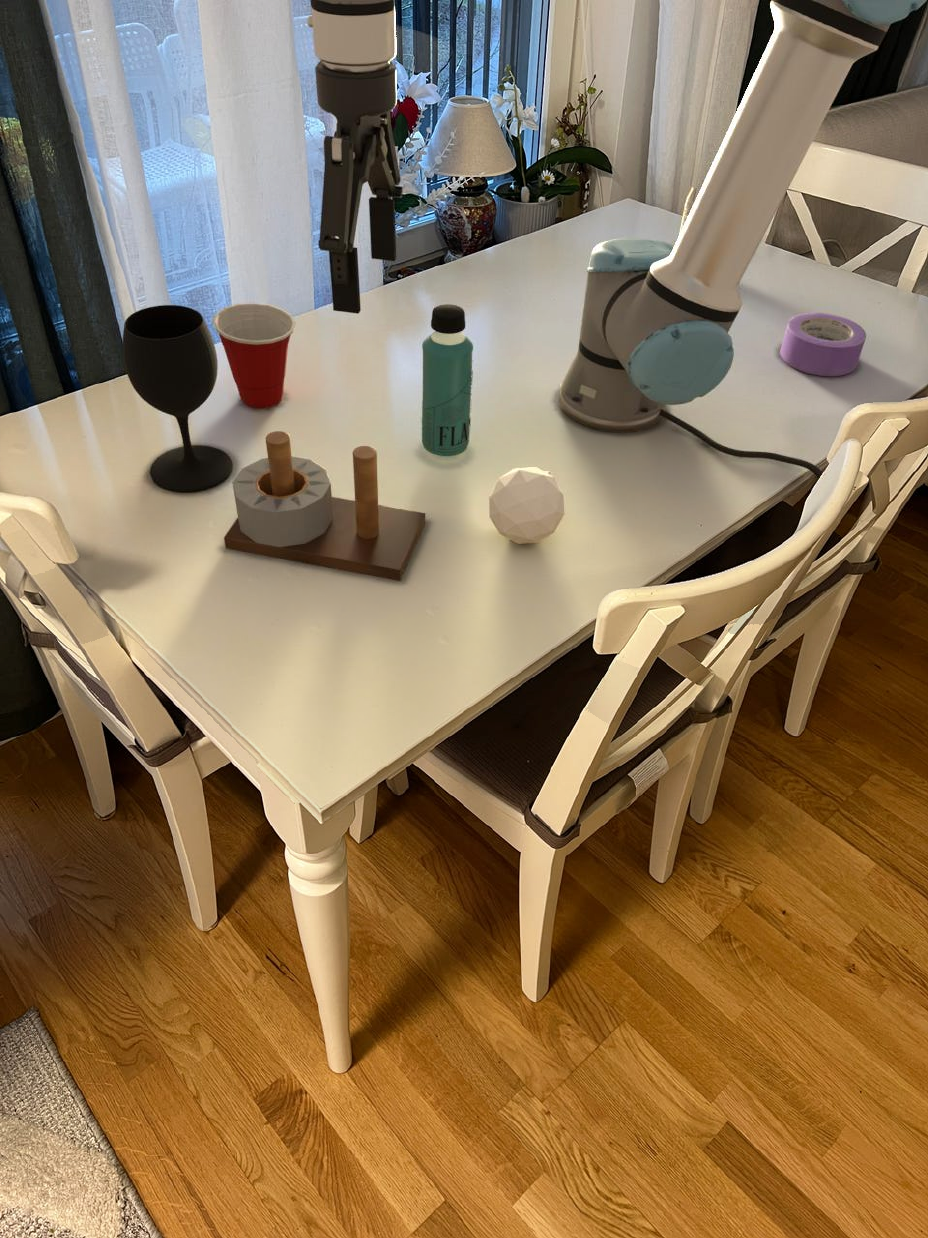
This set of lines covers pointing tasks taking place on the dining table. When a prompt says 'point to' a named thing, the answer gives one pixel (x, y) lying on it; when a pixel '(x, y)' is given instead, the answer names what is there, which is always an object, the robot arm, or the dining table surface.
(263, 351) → the plastic cup
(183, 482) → the wine glass
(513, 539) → the white faceted ball
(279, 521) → the duct tape
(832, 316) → the tape roll
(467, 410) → the beverage bottle
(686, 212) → the screw
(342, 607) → the dining table surface
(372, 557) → the peg rack
